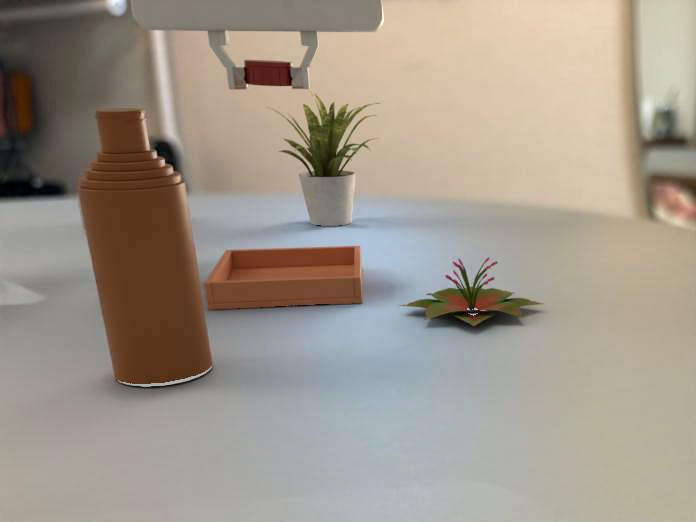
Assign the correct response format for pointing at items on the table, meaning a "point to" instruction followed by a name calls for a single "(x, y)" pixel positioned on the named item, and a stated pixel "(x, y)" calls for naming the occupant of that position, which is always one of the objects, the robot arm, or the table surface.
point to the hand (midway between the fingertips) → (270, 89)
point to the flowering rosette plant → (471, 299)
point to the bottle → (143, 255)
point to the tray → (285, 277)
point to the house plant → (327, 164)
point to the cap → (268, 72)
